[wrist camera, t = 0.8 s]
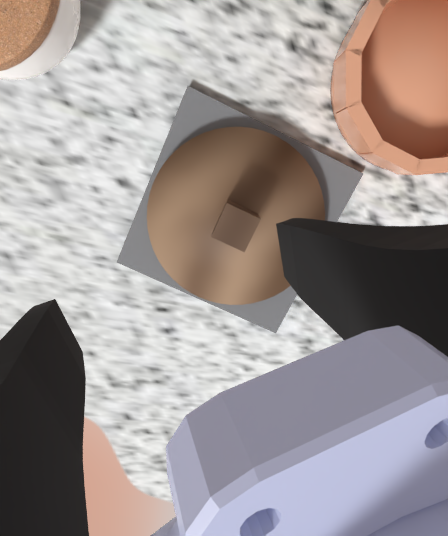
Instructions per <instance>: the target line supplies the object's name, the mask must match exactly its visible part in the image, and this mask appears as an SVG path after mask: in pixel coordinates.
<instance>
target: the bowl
mask: <svg viewBox="0 0 448 536" xmlns="http://www.w3.org/2000/svg"><path fill="white" fill-rule="evenodd" d="M330 92H331V104H332V109H333V114H334V117H335V120H336V123H337V126H338V128H339V130H340V132H341V134H342V136H343V137H344V139H345V140H346V142H347V143H348V145H349V146H350V147H351V148H352V149H353V150H354V151H355V152H356V153H357V154H358V155H359V156H361V157H362V158H363V159H364V160H366V161H368V162H369V163H371V164H373V165H375V166H378V167H380V168H382V169H386V170H390V171H392V172H394V173H396V174H405V175H421V174H433V173H444V172H448V0H368V1H367V2H366V3H365V5H364V6H363V7H362V8H361V10H360V11H359V12H358V14H357V16H356V18H355V20H354V22H353V24H352V26H351V28H350V29H349V30H348V32H347V34H346V36H345V37H344V39H343V41H342V43H341V45H340V48H339V50H338V52H337V55H336V58H335V61H334V65H333V70H332V76H331V90H330Z"/></svg>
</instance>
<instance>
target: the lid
mask: <svg viewBox="0 0 448 536" xmlns="http://www.w3.org/2000/svg"><path fill="white" fill-rule="evenodd" d="M292 218H307V219H317V220H325V207H324V199H323V195H322V190H321V188H320V185H319V182H318V179H317V177H316V176H315V174H314V172H313V170H312V168H311V167H310V165H309V164H308V163H307V161H306V160H305V158H304V157H303V156H302V155H301V154H300V153H299V152H298V151H297V150H296V149H295V148H293V147H292V146H291V145H290V144H288V143H287V142H286V141H284V140H282V139H280V138H279V137H277V136H275V135H273V134H270V133H268V132H265V131H262V130H258V129H254V128H248V127H225V128H219V129H214V130H211V131H208V132H205V133H202V134H200V135H198V136H196V137H194V138H192V139H190V140H189V141H187V142H186V143H184V144H183V145H181V146H180V147H179V148H178V149H177V150H176V151H175V152H173V153H172V155H171V156H170V157H169V158H168V159H167V160H166V161H165V163H164V164H163V166H162V167H161V169H160V170H159V172H158V174H157V176H156V178H155V180H154V182H153V185H152V188H151V191H150V194H149V199H148V205H147V228H148V233H149V238H150V242H151V245H152V247H153V250H154V252H155V254H156V256H157V258H158V260H159V262H160V264H161V265H162V267H163V268H164V270H165V271H166V272H167V273H168V274H169V275H170V277H171V278H172V279H173V280H174V281H176V282H177V283H178V284H179V285H180V286H181V287H183V288H184V289H186V290H187V291H189V292H190V293H192V294H194V295H196V296H198V297H200V298H203V299H205V300H208V301H211V302H215V303H220V304H228V305H244V304H251V303H256V302H259V301H263V300H266V299H268V298H271V297H273V296H275V295H277V294H279V293H281V292H282V291H284V290H285V289H287V288H288V287H290V286H291V285H290V284H289V283H288V281H287V280H286V278H285V277H284V272H283V266H282V259H281V253H280V246H279V240H278V234H277V227H276V224H277V223H280V222H283V221H286V220H289V219H292Z"/></svg>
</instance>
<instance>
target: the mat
mask: <svg viewBox="0 0 448 536" xmlns="http://www.w3.org/2000/svg"><path fill="white" fill-rule="evenodd" d="M225 127H248V128H254V129H258V130H262V131H265V132H268V133H270V134H273V135H275V136H277V137H279V138H280V139H282V140H284V141H286V142H287V143H288V144H290V145H291V146H292V147H293V148H295V149H296V150H297V151H298V152H299V153H300V154H301V155H302V156H303V157H304V158H305V160H306V161H307V163H308V164H309V165H310V167H311V168H312V170H313V172H314V174H315V176H316V177H317V179H318V182H319V185H320V188H321V190H322V195H323V199H324V207H325V221H332V222H337V221H338V219H339V217H340V215H341V213H342V212H343V210H344V208H345V206H346V204H347V202H348V201H349V199H350V197H351V195H352V193H353V192H354V190H355V188H356V186H357V184H358V183H359V181H360V179H361V177H362V175H363V173H361V172H359V171H357V170H355V169H353V168H351V167H349V166H347V165H345V164H343V163H341V162H339V161H337V160H335V159H333V158H331V157H329V156H327V155H325V154H323V153H321V152H319V151H317V150H315V149H313V148H311V147H309V146H307V145H305V144H303V143H301V142H299V141H297V140H295V139H293V138H291V137H289V136H287V135H285V134H283V133H281V132H279V131H277V130H275V129H273V128H271V127H269V126H267V125H265V124H263V123H261V122H259V121H257V120H255V119H253V118H251V117H249V116H247V115H245V114H243V113H241V112H239V111H237V110H235V109H233V108H231V107H229V106H227V105H225V104H223V103H221V102H219V101H217V100H215V99H213V98H211V97H209V96H207V95H205V94H203V93H201V92H199V91H197V90H195V89H193V88H191V87H189V86H187V89H186V91H185V94H184V96H183V99H182V101H181V104H180V106H179V109H178V111H177V114H176V116H175V119H174V121H173V124H172V126H171V129H170V131H169V134H168V136H167V139H166V141H165V144H164V146H163V148H162V151H161V153H160V156H159V158H158V161H157V163H156V166H155V168H154V171H153V173H152V176H151V178H150V181H149V183H148V186H147V188H146V191H145V193H144V196H143V198H142V201H141V203H140V206H139V208H138V211H137V213H136V216H135V218H134V221H133V223H132V225H131V228H130V230H129V233H128V235H127V238H126V240H125V243H124V245H123V248H122V250H121V253H120V255H119V258H118V260H117V263H120V264H122V265H124V266H126V267H129V268H131V269H133V270H135V271H138V272H140V273H142V274H144V275H147V276H149V277H151V278H153V279H156V280H158V281H160V282H162V283H165V284H167V285H169V286H171V287H174V288H176V289H178V290H180V291H182V292H185V293H187V294H189V295H191V296H194V297H196V298H198V299H200V300H203V301H205V302H207V303H209V304H212V305H214V306H216V307H218V308H221V309H223V310H225V311H227V312H230V313H232V314H234V315H236V316H238V317H241V318H243V319H245V320H247V321H250V322H252V323H254V324H256V325H259V326H261V327H263V328H265V329H268V330H270V331H272V332H274V333H276V331H277V330H278V328H279V326H280V324H281V322H282V321H283V319H284V317H285V315H286V313H287V312H288V310H289V308H290V306H291V304H292V302H293V301H294V299H295V297H296V295H297V293H296V292H295V291H294V289H293V288H292V287H291V286H290V287H288V288H287V289H285V290H284V291H282V292H281V293H279V294H277V295H275V296H273V297H271V298H268V299H266V300H263V301H259V302H256V303H251V304H244V305H228V304H220V303H215V302H211V301H208V300H205V299H203V298H200V297H198V296H196V295H194V294H192V293H190V292H189V291H187V290H186V289H184V288H183V287H181V286H180V285H179V284H178V283H177V282H176V281H174V280H173V279H172V278H171V277H170V275H169V274H168V273H167V272H166V271H165V270H164V268H163V267H162V265H161V264H160V262H159V260H158V258H157V256H156V254H155V252H154V250H153V247H152V245H151V242H150V238H149V233H148V228H147V205H148V199H149V194H150V191H151V188H152V185H153V182H154V180H155V178H156V176H157V174H158V172H159V170H160V169H161V167H162V166H163V164H164V163H165V161H166V160H167V159H168V158H169V157H170V156H171V155H172V153H173V152H175V151H176V150H177V149H178V148H179V147H180V146H181V145H183V144H184V143H186V142H187V141H189V140H190V139H192V138H194V137H196V136H198V135H200V134H202V133H205V132H208V131H211V130H214V129H219V128H225Z"/></svg>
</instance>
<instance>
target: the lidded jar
mask: <svg viewBox="0 0 448 536" xmlns="http://www.w3.org/2000/svg"><path fill="white" fill-rule="evenodd" d="M80 6H81V5H80V0H0V79H2V80H22V79H29V78H33V77H37V76H39V75H42V74H44V73H46V72H48V71H50V70H51V69H53V68H54V67H56V66H57V65H58V64H59V63H60V62H61V61H62V60H63V59H64V58H65V57H66V55H67V54H68V53H69V51H70V50H71V48H72V46H73V44H74V42H75V39H76V36H77V33H78V29H79V24H80Z"/></svg>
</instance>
